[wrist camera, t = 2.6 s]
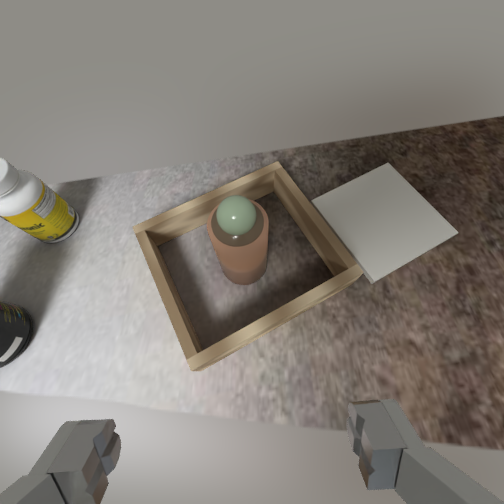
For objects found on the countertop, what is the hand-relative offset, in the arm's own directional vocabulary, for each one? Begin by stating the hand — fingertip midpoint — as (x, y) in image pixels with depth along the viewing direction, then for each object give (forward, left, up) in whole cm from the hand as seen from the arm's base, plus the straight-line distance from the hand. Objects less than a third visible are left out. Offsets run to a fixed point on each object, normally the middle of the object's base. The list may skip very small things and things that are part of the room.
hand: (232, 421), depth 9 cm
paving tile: (-23, -9, -17) cm, 30 cm away
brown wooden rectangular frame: (-6, -12, -17) cm, 22 cm away
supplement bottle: (+12, -28, -18) cm, 35 cm away
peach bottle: (-6, -12, -18) cm, 22 cm away
